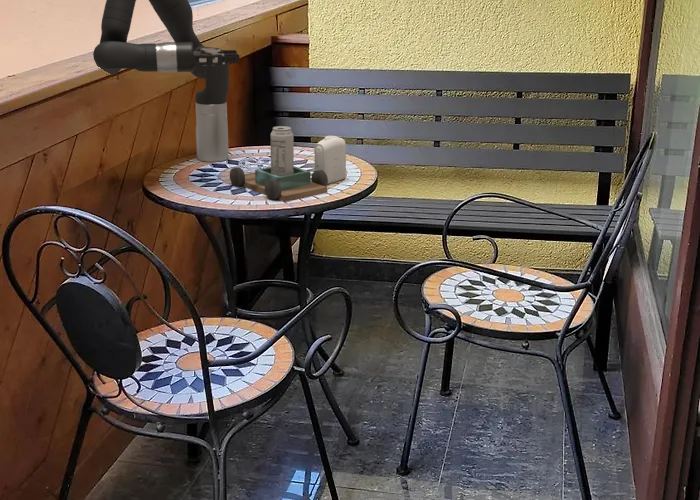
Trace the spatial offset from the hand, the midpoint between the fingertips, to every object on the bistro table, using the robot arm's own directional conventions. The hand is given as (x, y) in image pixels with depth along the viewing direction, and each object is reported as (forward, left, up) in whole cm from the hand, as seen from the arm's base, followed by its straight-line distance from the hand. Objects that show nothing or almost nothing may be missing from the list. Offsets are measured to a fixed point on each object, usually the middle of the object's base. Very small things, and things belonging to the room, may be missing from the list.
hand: (238, 56), depth 212 cm
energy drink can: (+13, +4, -33) cm, 35 cm away
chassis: (+11, +4, -34) cm, 36 cm away
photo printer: (+15, +19, -34) cm, 42 cm away
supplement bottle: (+5, +28, -34) cm, 45 cm away
